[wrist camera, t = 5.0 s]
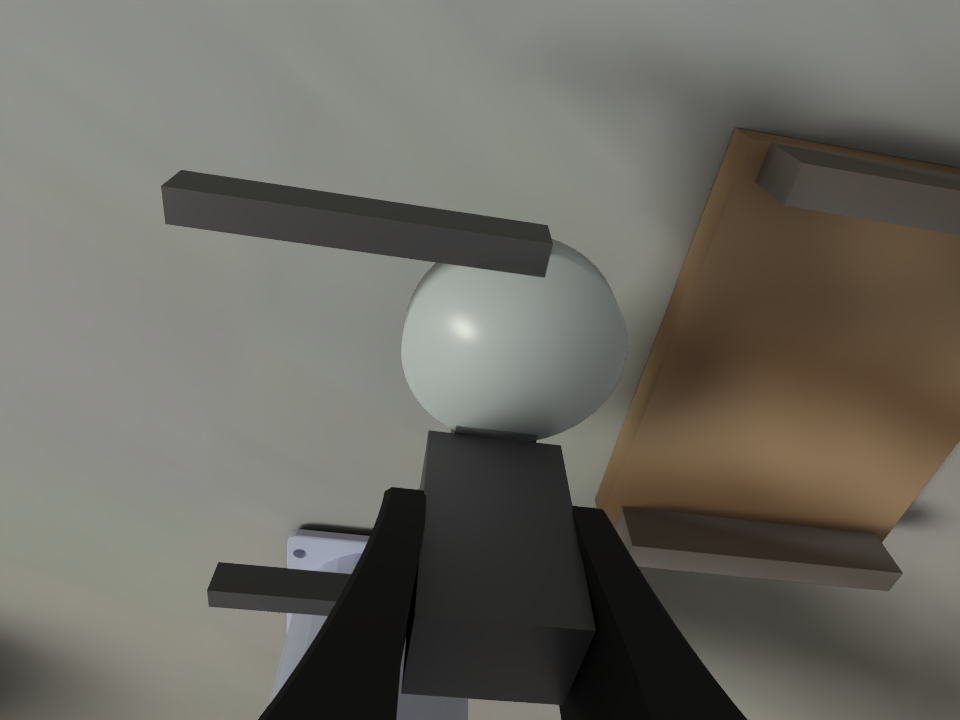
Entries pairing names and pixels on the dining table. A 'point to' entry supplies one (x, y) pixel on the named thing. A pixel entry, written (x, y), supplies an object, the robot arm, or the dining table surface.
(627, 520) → the stand
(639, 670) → the robot arm
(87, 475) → the dining table surface
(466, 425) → the spectacles
